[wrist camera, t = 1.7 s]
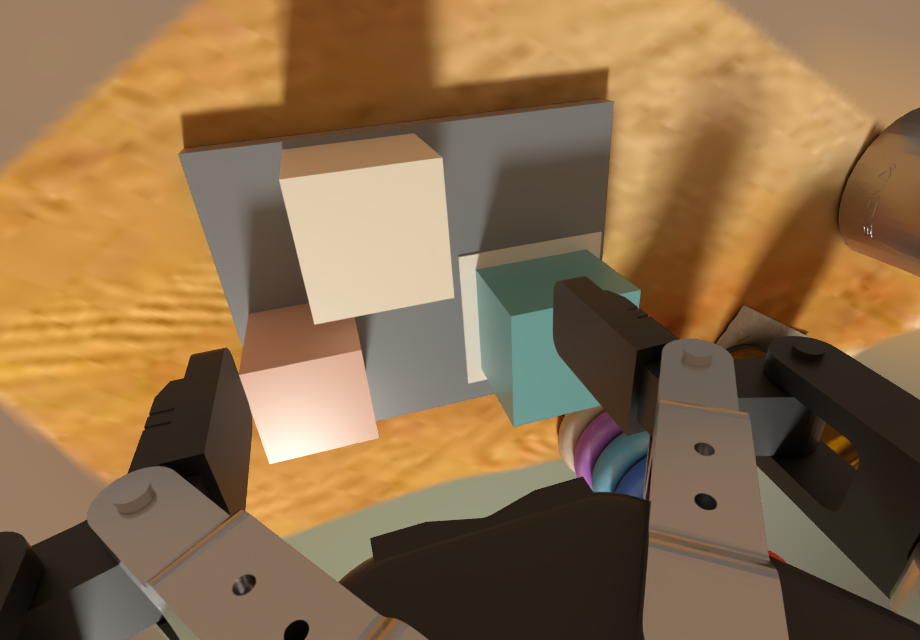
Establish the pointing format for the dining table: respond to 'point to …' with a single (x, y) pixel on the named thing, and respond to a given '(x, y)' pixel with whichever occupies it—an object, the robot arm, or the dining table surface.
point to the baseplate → (469, 222)
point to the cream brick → (368, 225)
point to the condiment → (756, 346)
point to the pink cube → (305, 383)
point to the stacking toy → (605, 453)
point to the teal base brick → (535, 333)
